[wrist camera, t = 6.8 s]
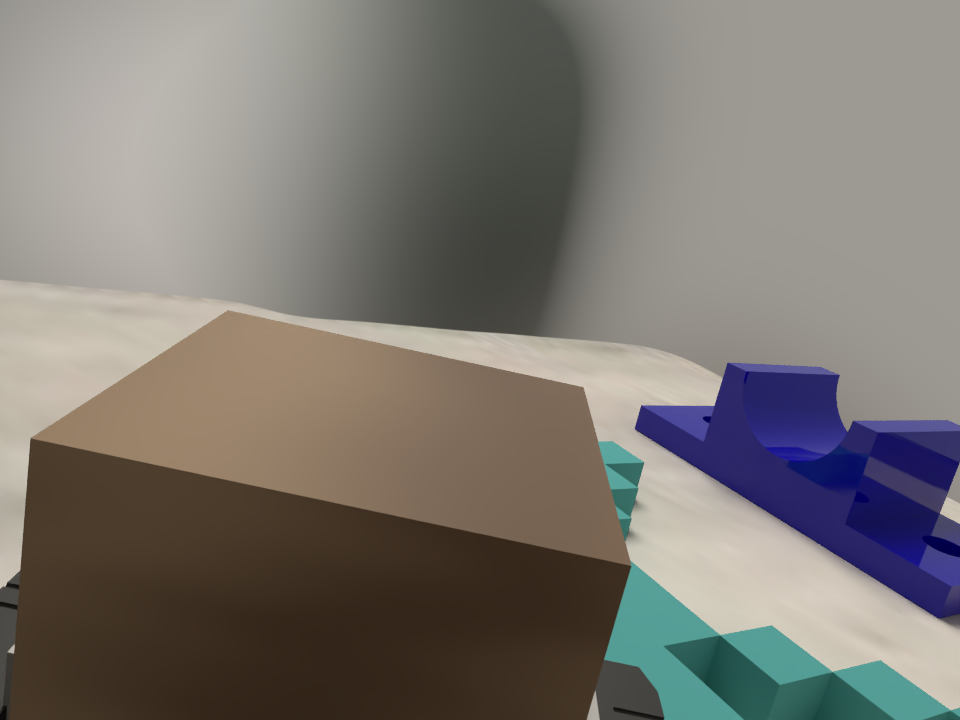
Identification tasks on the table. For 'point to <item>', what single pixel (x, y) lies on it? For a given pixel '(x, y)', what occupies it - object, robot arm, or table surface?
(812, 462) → the mounting bracket
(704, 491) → the table surface
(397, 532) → the mallet
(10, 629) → the robot arm
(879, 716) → the alien figure
